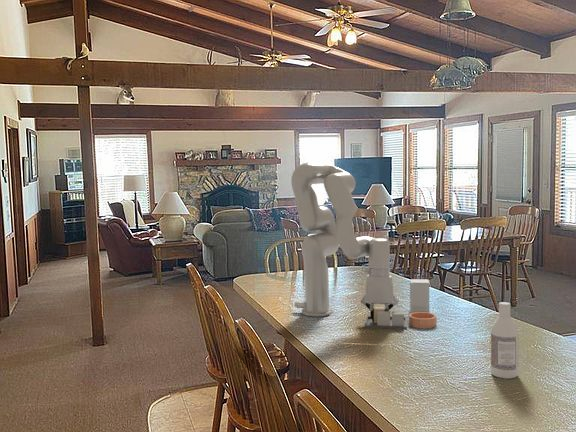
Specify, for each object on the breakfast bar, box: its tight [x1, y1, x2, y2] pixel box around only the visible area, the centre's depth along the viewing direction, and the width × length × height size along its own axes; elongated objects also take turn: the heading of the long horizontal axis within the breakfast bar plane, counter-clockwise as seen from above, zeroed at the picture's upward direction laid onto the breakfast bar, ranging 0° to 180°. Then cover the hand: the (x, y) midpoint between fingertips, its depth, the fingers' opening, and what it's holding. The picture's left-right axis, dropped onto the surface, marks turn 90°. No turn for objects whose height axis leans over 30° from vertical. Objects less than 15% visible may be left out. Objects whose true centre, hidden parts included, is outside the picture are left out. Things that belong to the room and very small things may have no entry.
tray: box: [363, 315, 408, 330], centre depth 204 cm, size 15×13×1 cm
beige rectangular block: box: [373, 306, 385, 323], centre depth 206 cm, size 4×4×5 cm
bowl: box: [408, 312, 438, 329], centre depth 202 cm, size 10×10×4 cm
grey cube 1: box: [377, 310, 391, 326], centre depth 201 cm, size 4×4×5 cm
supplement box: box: [409, 278, 430, 314], centre depth 219 cm, size 7×7×13 cm
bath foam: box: [490, 301, 519, 380], centre depth 152 cm, size 7×7×20 cm
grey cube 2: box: [391, 311, 405, 326], centre depth 199 cm, size 4×4×5 cm
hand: (379, 320), depth 206 cm, fingers closed on beige rectangular block, 3 cm apart
